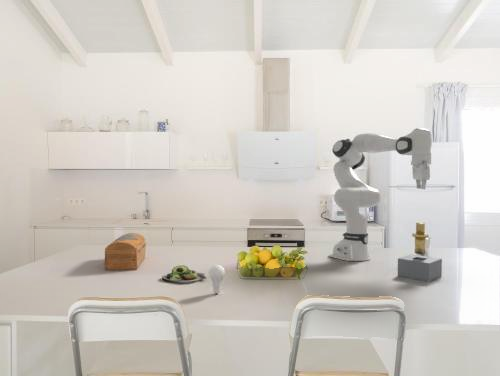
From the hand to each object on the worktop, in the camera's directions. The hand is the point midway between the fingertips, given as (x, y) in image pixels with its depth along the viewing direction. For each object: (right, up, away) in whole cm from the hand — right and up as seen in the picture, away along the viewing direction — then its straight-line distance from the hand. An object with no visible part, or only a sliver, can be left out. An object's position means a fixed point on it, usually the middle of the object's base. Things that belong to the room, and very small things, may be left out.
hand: (420, 188), depth 197 cm
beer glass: (+1, -39, -1) cm, 39 cm away
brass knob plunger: (-8, -30, -18) cm, 36 cm away
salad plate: (-114, -40, -23) cm, 123 cm away
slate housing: (-8, -40, -18) cm, 44 cm away
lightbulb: (-98, -40, -46) cm, 115 cm away
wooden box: (-149, -39, +6) cm, 154 cm away
